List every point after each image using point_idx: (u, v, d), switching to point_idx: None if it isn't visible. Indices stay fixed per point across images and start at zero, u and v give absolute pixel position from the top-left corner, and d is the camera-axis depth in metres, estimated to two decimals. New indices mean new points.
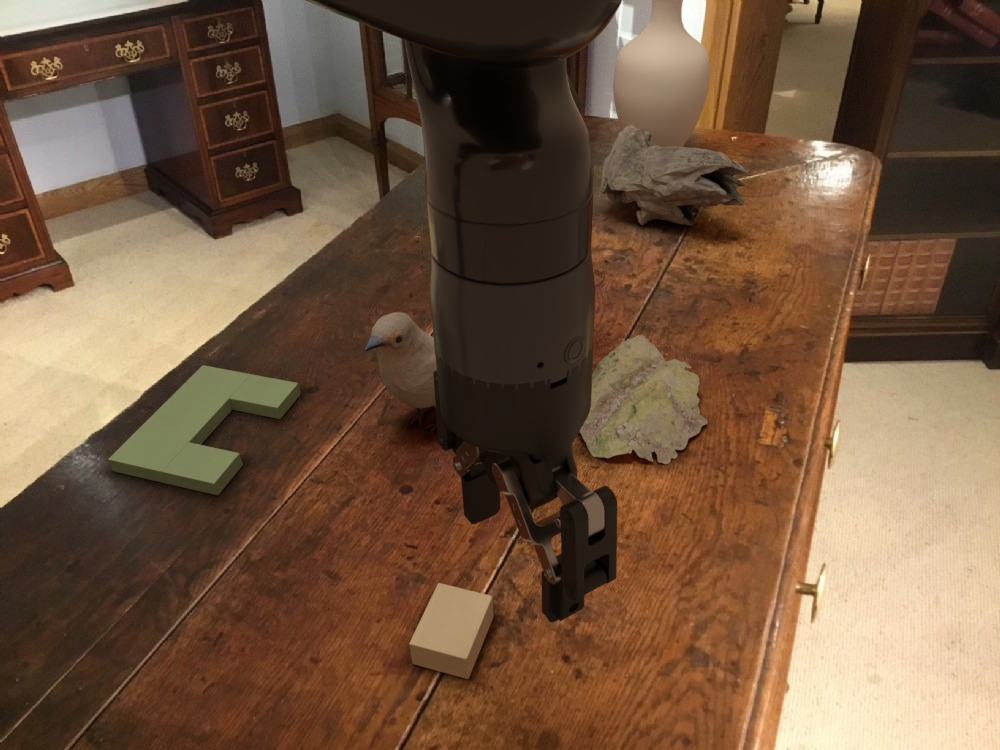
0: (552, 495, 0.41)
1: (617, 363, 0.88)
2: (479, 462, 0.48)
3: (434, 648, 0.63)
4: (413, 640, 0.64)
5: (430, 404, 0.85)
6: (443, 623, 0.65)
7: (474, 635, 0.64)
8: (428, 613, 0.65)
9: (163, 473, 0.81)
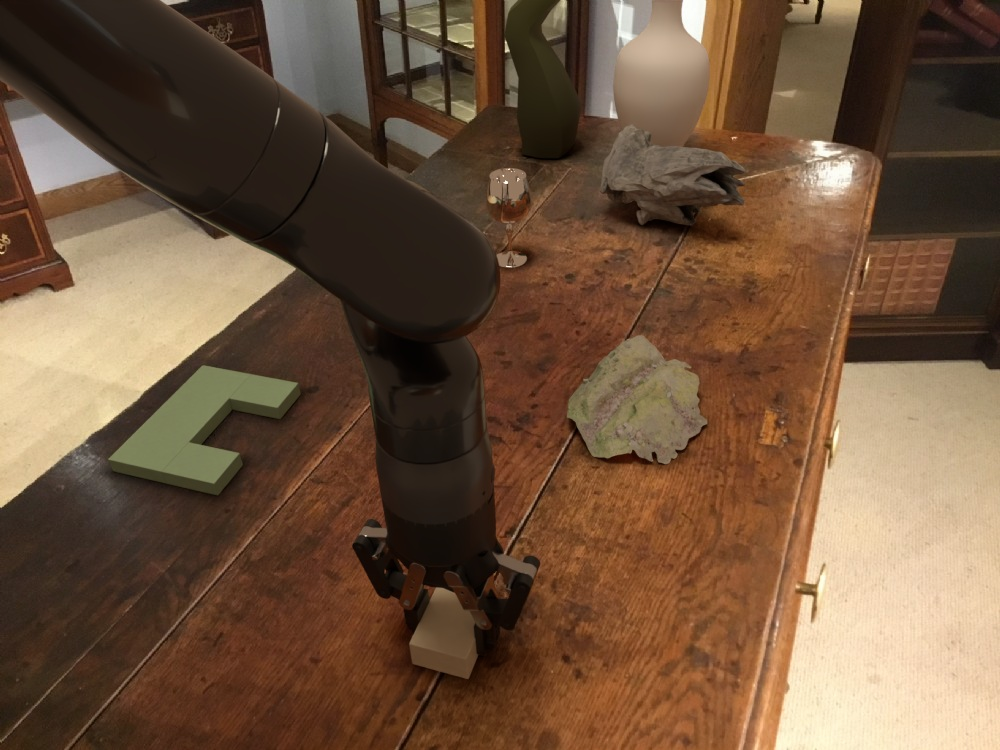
0: (497, 570, 0.59)
1: (617, 363, 0.88)
2: (421, 585, 0.62)
3: (434, 648, 0.63)
4: (413, 640, 0.64)
5: None
6: (443, 623, 0.65)
7: None
8: (428, 613, 0.65)
9: (163, 473, 0.81)
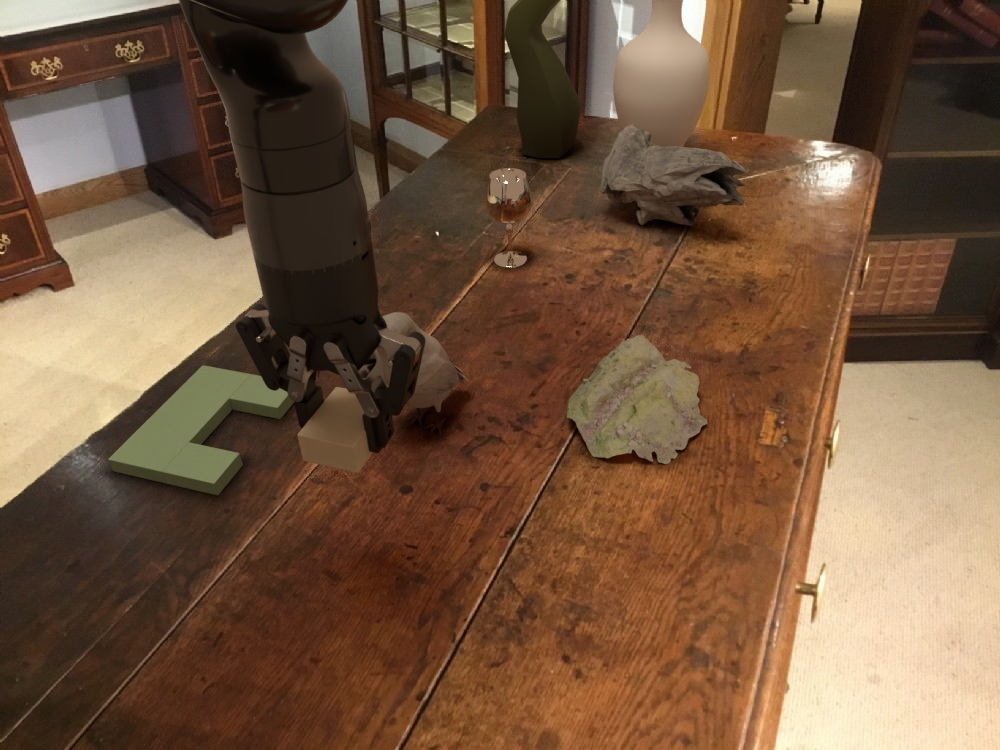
0: (378, 343, 0.57)
1: (617, 363, 0.88)
2: (308, 371, 0.60)
3: (322, 438, 0.61)
4: (302, 432, 0.62)
5: (430, 404, 0.85)
6: (335, 418, 0.63)
7: None
8: (321, 410, 0.64)
9: (163, 473, 0.81)
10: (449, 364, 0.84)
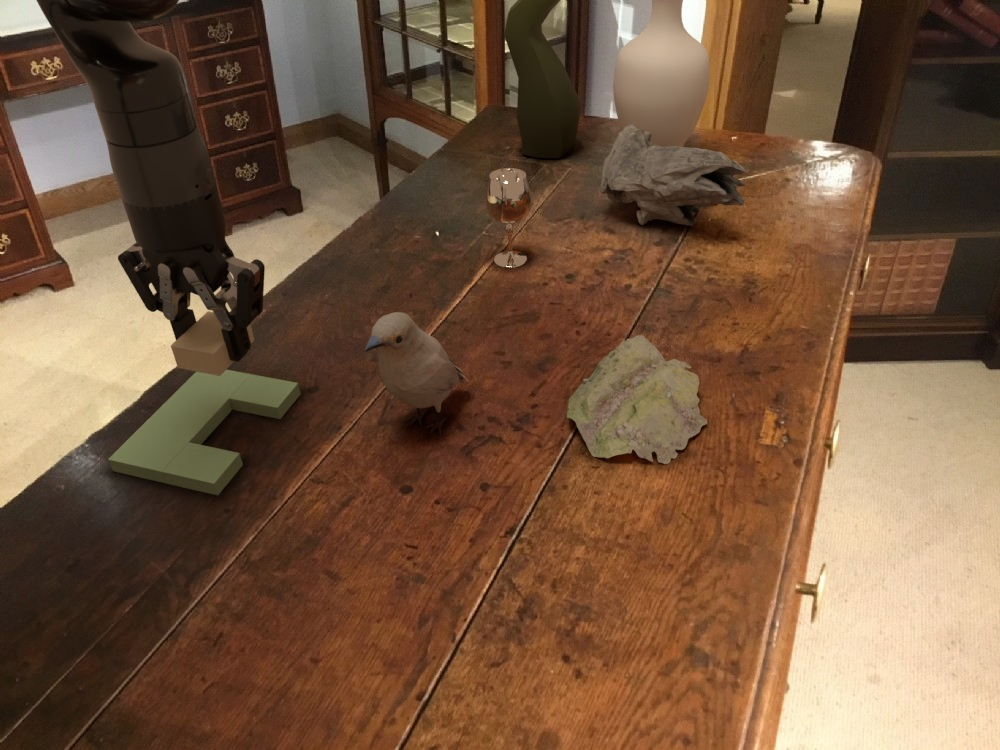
0: (226, 268, 0.73)
1: (617, 363, 0.88)
2: (177, 294, 0.76)
3: (190, 347, 0.77)
4: (174, 343, 0.78)
5: (430, 404, 0.85)
6: (202, 334, 0.79)
7: None
8: (192, 328, 0.80)
9: (163, 473, 0.81)
10: (449, 364, 0.84)
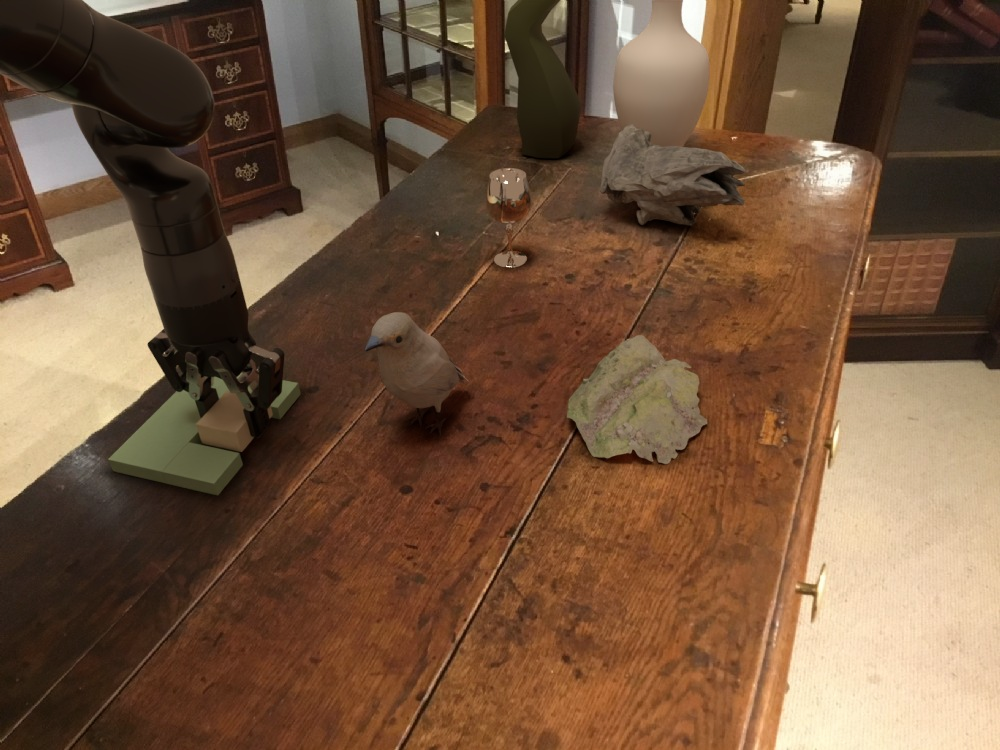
0: (249, 356, 0.79)
1: (617, 363, 0.88)
2: (202, 377, 0.82)
3: (214, 426, 0.83)
4: (199, 422, 0.83)
5: (430, 404, 0.85)
6: (225, 412, 0.84)
7: None
8: (215, 406, 0.85)
9: (163, 473, 0.81)
10: (449, 364, 0.84)
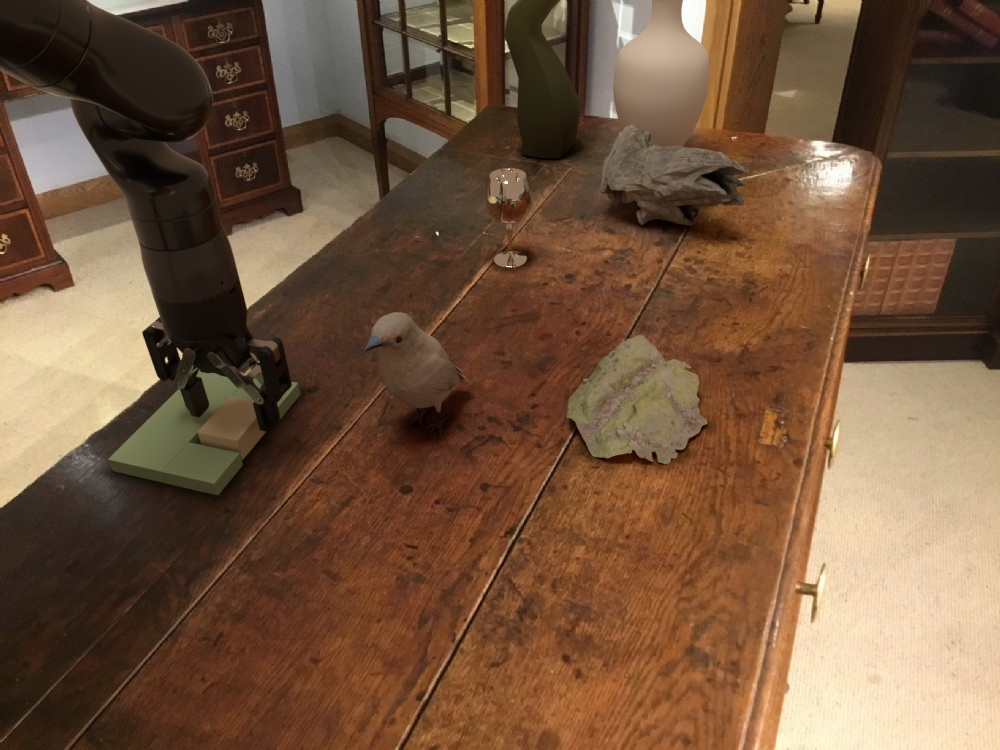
0: (247, 353, 0.78)
1: (617, 363, 0.88)
2: (193, 370, 0.82)
3: (215, 434, 0.83)
4: (201, 430, 0.84)
5: (430, 404, 0.85)
6: (226, 420, 0.85)
7: (247, 426, 0.84)
8: (217, 414, 0.86)
9: (163, 473, 0.81)
10: (449, 364, 0.84)
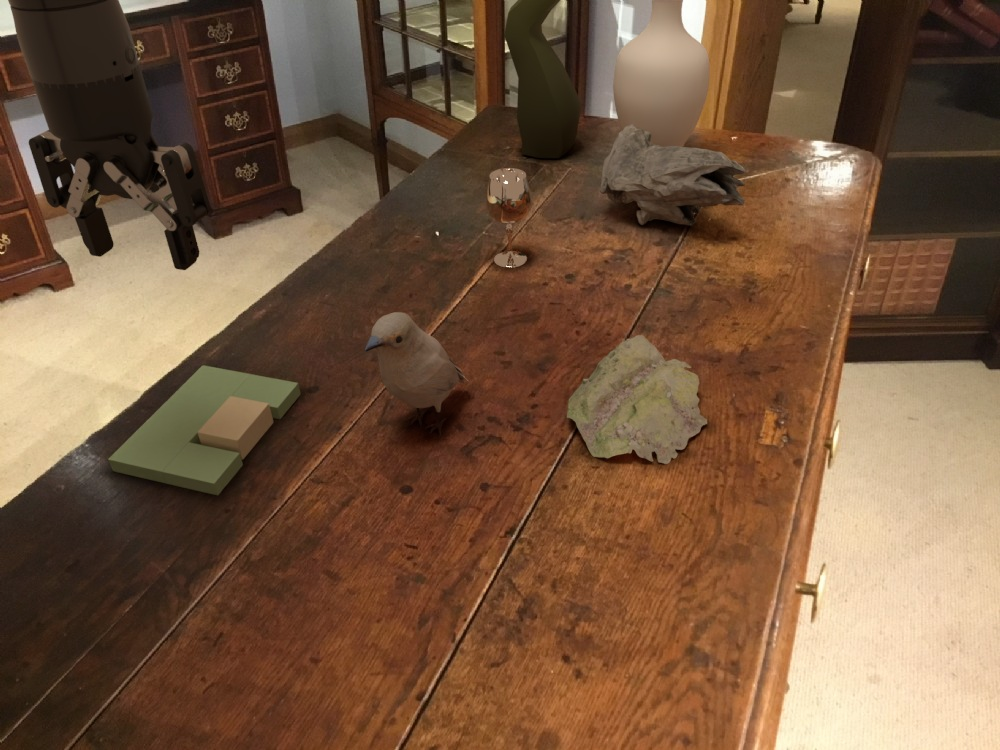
0: (152, 163, 0.65)
1: (617, 363, 0.88)
2: (89, 192, 0.69)
3: (215, 434, 0.83)
4: (201, 430, 0.84)
5: (430, 404, 0.85)
6: (226, 420, 0.85)
7: (247, 426, 0.84)
8: (217, 414, 0.86)
9: (163, 473, 0.81)
10: (449, 364, 0.84)
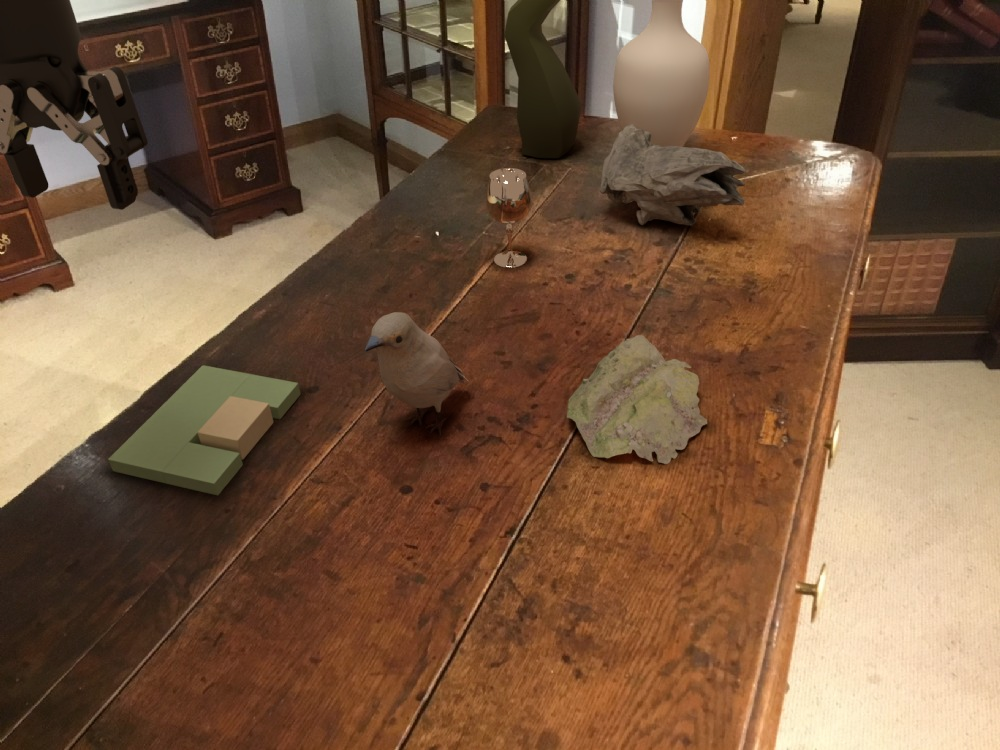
0: (79, 90, 0.60)
1: (617, 363, 0.88)
2: (16, 125, 0.64)
3: (215, 434, 0.83)
4: (201, 430, 0.84)
5: (430, 404, 0.85)
6: (226, 420, 0.85)
7: (247, 426, 0.84)
8: (217, 414, 0.86)
9: (163, 473, 0.81)
10: (449, 364, 0.84)
